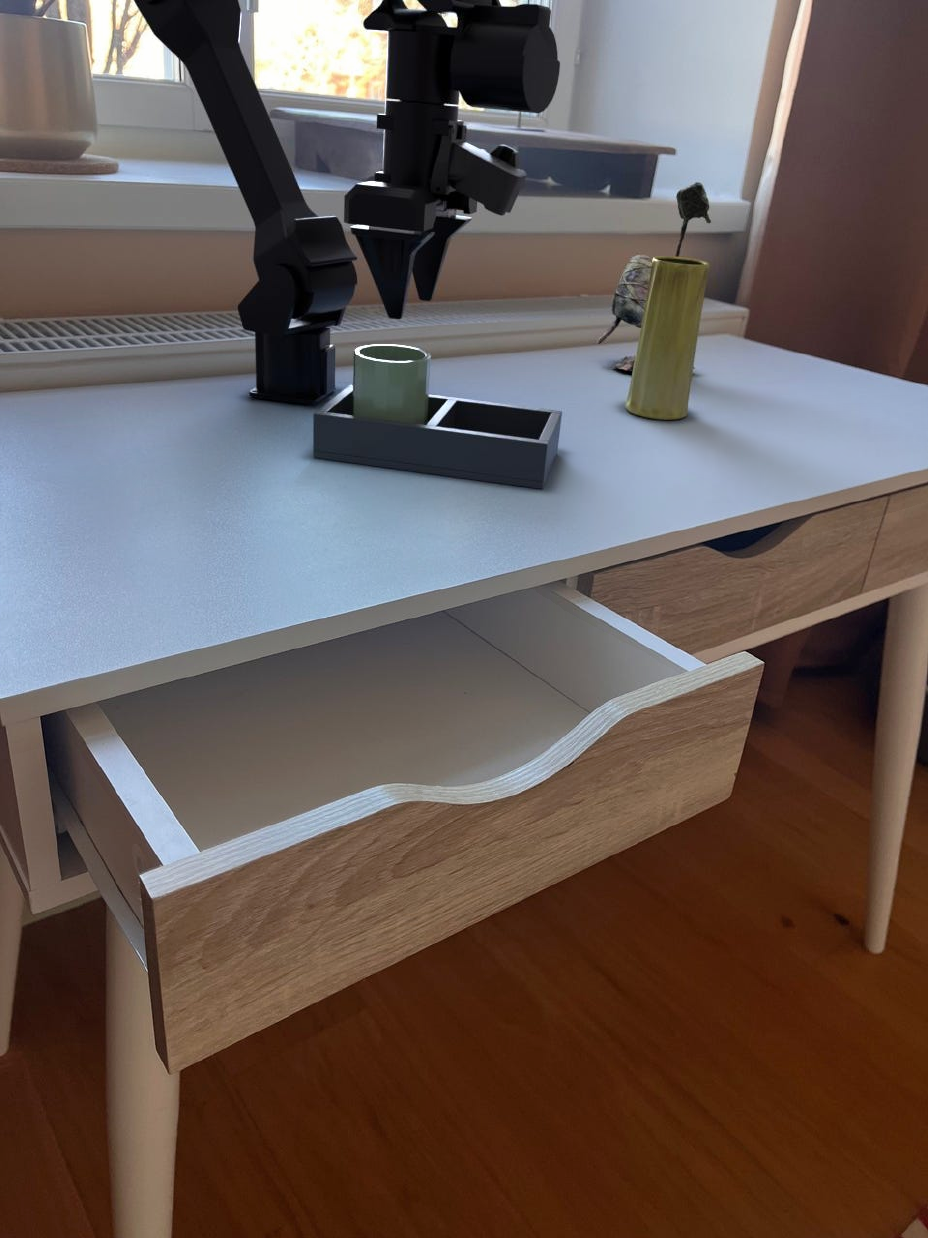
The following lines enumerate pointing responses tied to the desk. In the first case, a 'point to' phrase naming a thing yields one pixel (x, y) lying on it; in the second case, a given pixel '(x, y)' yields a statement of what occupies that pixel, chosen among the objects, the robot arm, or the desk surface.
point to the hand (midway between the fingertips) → (411, 309)
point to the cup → (391, 383)
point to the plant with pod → (637, 272)
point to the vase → (668, 338)
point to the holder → (445, 439)
